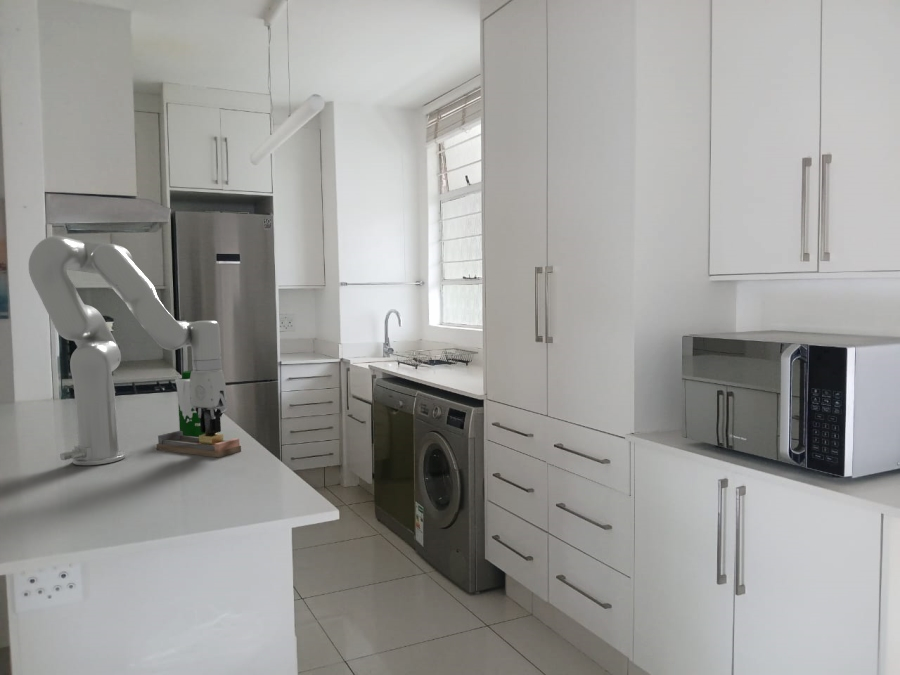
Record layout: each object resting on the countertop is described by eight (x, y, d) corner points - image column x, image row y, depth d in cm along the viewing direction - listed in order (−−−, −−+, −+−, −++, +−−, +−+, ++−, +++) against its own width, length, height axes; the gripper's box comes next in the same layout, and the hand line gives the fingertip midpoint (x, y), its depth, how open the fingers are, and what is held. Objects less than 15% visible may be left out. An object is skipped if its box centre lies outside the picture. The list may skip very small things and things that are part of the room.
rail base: (218, 457, 184) (217, 443, 184) (156, 449, 197) (155, 435, 196) (241, 451, 191) (240, 437, 191) (180, 443, 204) (179, 430, 203)
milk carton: (200, 432, 219) (197, 369, 218) (217, 435, 214) (214, 371, 212) (175, 437, 212) (171, 372, 211) (192, 440, 207) (188, 374, 206)
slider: (212, 447, 188) (210, 411, 187) (199, 446, 191) (197, 410, 190) (223, 444, 192) (221, 408, 191) (211, 443, 194) (209, 407, 193)
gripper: (175, 366, 190) (179, 432, 192) (217, 368, 182) (221, 437, 184) (197, 363, 197) (201, 427, 198) (239, 365, 189) (242, 431, 190)
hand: (210, 431), depth 191 cm, fingers closed on slider, 3 cm apart
